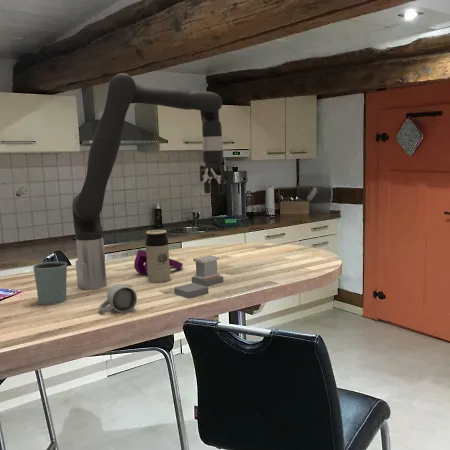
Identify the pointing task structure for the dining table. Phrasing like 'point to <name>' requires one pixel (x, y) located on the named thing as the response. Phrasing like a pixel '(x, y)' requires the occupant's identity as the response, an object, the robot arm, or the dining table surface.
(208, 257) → the housing
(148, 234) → the travel mug
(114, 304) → the ceramic mug
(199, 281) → the stand right
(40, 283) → the green tapered cup
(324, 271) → the dining table surface
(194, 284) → the stand left
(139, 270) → the mounting bracket
